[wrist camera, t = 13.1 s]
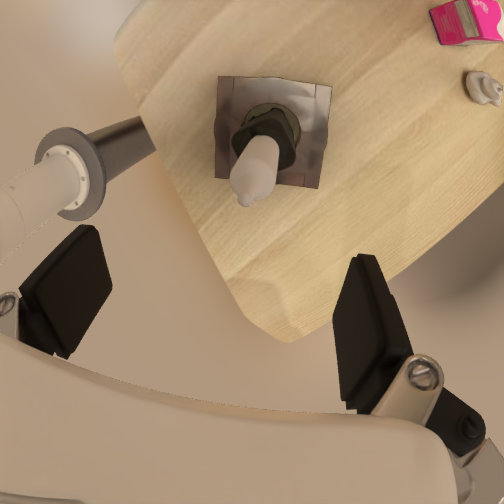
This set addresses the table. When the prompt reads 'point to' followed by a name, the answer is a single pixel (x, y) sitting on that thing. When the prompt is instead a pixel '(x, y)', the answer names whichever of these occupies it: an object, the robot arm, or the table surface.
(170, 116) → the table surface
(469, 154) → the table surface
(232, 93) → the hole plate
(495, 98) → the white animal figurine
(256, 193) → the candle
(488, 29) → the supplement box
